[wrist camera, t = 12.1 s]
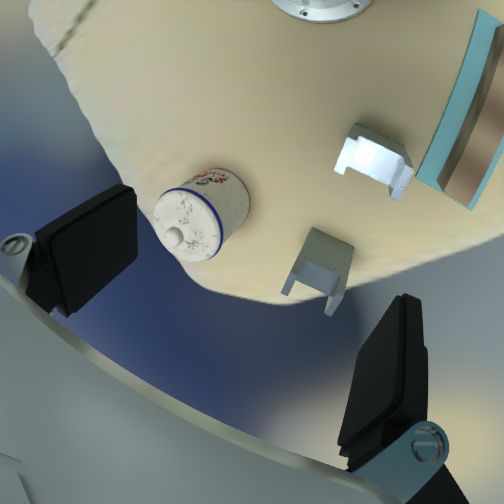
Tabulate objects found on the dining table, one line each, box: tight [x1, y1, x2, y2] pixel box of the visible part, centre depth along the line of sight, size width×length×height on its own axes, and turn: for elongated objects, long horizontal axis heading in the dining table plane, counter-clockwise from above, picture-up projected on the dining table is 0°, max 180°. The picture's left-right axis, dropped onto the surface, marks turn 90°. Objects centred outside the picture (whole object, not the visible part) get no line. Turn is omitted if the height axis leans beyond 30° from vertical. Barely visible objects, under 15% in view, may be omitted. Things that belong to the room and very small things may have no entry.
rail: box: [436, 24, 504, 208], centre depth 20 cm, size 20×3×4 cm, turn 164°
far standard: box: [281, 228, 354, 316], centre depth 34 cm, size 3×6×10 cm, turn 74°
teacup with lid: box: [153, 169, 250, 262], centre depth 37 cm, size 12×9×12 cm
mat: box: [415, 9, 504, 211], centre depth 22 cm, size 22×8×1 cm, turn 164°
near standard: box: [334, 123, 414, 202], centre depth 26 cm, size 3×6×10 cm, turn 74°
